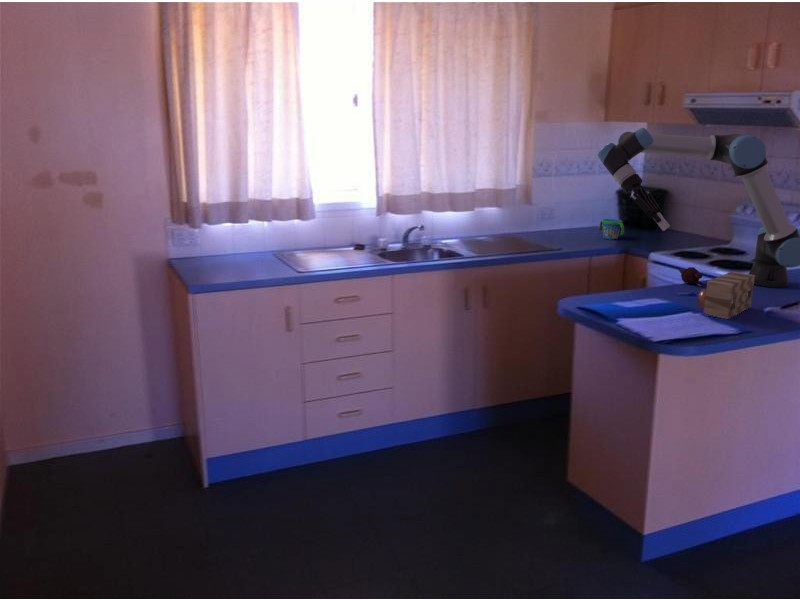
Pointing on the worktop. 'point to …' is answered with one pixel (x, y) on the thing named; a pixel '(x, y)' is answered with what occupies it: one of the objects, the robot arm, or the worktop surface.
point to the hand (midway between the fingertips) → (666, 228)
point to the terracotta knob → (702, 298)
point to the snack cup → (611, 228)
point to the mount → (728, 294)
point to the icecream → (690, 275)
